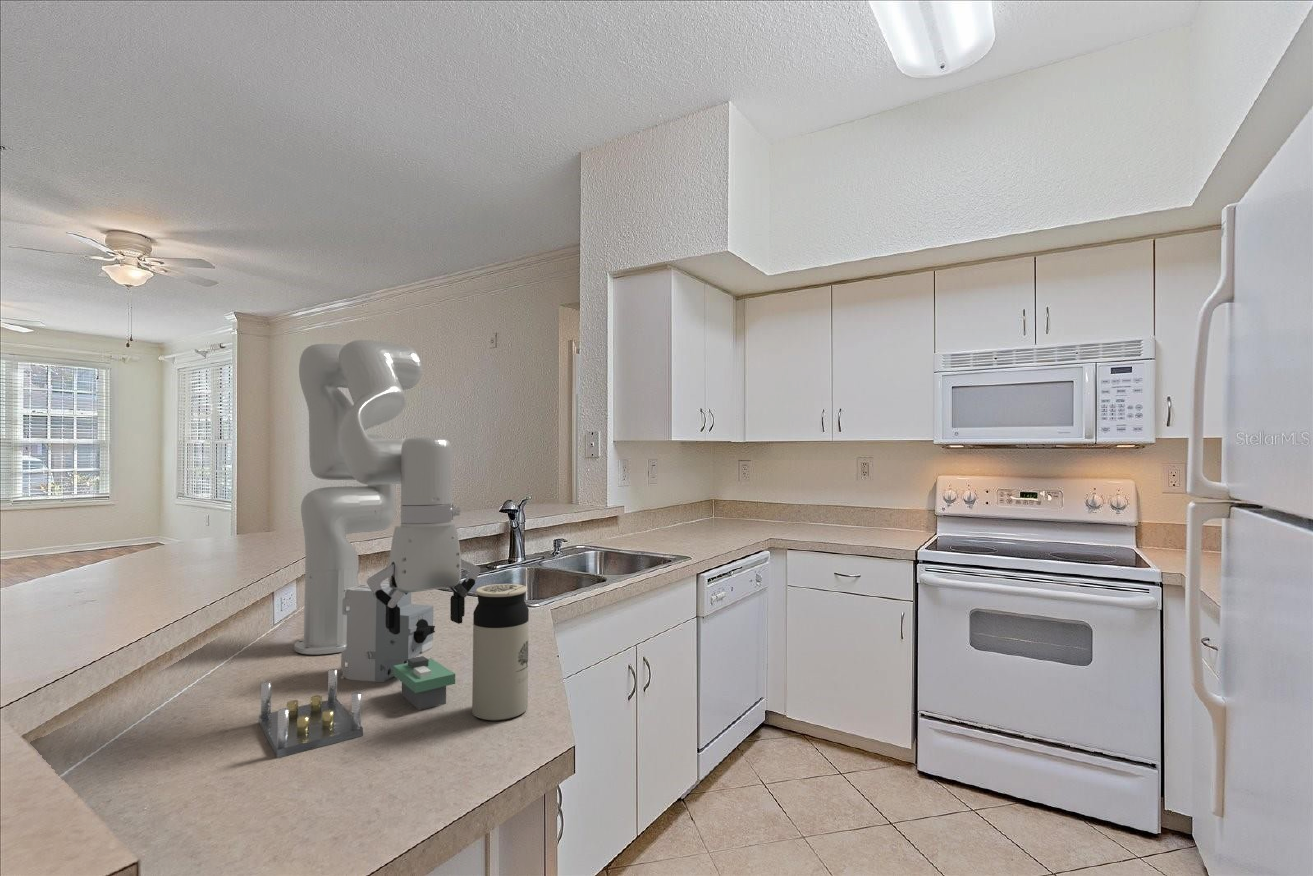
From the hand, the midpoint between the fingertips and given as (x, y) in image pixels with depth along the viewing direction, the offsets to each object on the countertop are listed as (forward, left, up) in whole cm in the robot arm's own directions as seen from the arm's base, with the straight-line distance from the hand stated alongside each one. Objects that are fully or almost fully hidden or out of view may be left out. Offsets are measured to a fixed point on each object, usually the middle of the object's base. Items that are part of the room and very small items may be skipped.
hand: (426, 627), depth 98 cm
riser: (-1, 0, -11) cm, 11 cm away
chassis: (0, -16, -11) cm, 20 cm away
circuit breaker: (-16, 0, -11) cm, 19 cm away
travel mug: (+11, +7, -11) cm, 18 cm away
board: (-1, 0, -8) cm, 8 cm away
